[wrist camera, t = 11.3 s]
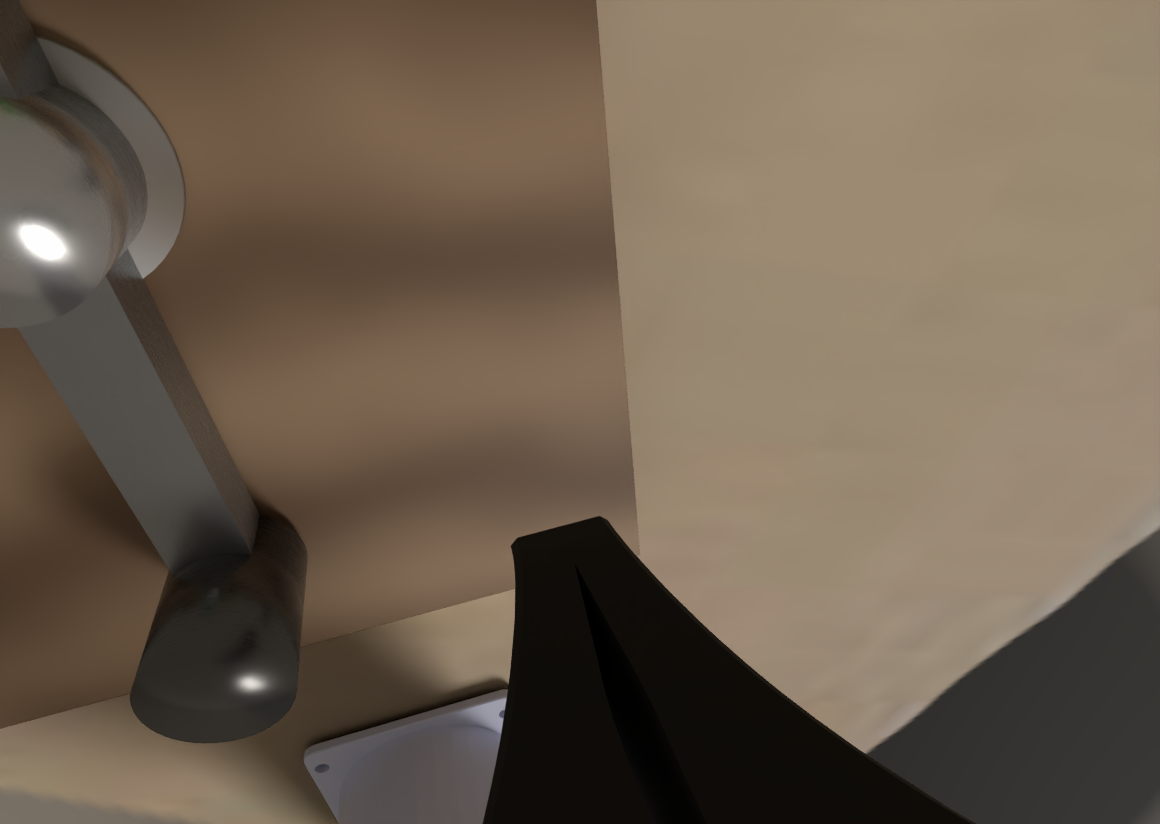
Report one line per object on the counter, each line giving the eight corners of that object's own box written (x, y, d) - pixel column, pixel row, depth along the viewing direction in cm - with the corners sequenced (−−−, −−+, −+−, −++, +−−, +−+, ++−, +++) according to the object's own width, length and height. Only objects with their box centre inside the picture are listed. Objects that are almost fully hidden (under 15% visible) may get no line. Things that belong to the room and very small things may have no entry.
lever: (331, 583, 20) (325, 713, 16) (196, 619, 19) (161, 762, 16) (-18, -185, 10) (-200, -258, 7) (-296, -157, 10) (-640, -221, 7)
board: (621, 515, 24) (676, 631, 20) (-13, 680, 21) (-106, 859, 17) (530, -435, 12) (621, -649, 8) (-992, -377, 9) (-2184, -679, 5)
